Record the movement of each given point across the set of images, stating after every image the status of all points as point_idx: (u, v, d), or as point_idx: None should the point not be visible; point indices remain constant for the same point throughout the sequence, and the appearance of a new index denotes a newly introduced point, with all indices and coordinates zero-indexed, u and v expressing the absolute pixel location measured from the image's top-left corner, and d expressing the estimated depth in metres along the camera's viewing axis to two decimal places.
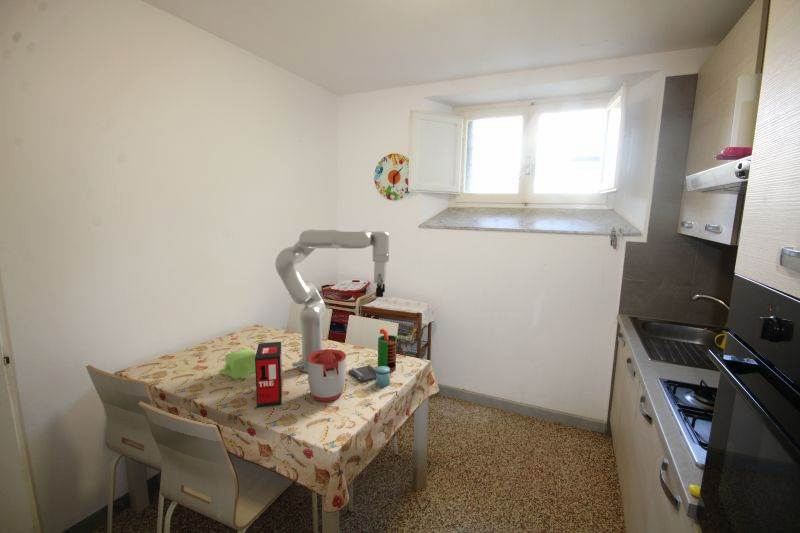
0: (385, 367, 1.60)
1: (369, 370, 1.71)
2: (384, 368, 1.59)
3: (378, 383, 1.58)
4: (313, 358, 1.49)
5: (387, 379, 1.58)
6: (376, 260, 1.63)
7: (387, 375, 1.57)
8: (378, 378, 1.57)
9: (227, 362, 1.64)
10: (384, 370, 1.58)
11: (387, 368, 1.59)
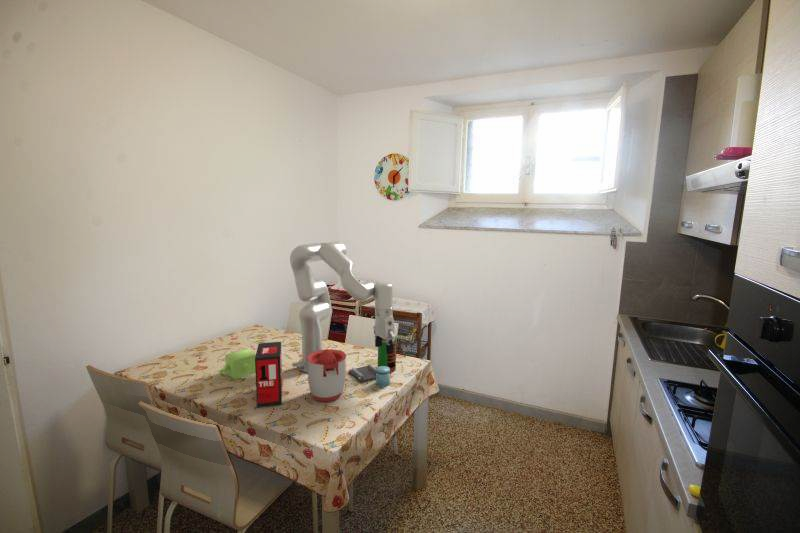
0: (385, 367, 1.60)
1: (369, 370, 1.71)
2: (384, 368, 1.59)
3: (378, 383, 1.58)
4: (313, 358, 1.49)
5: (387, 379, 1.58)
6: None
7: (387, 375, 1.57)
8: (378, 378, 1.57)
9: (227, 362, 1.64)
10: (384, 370, 1.58)
11: (387, 368, 1.59)
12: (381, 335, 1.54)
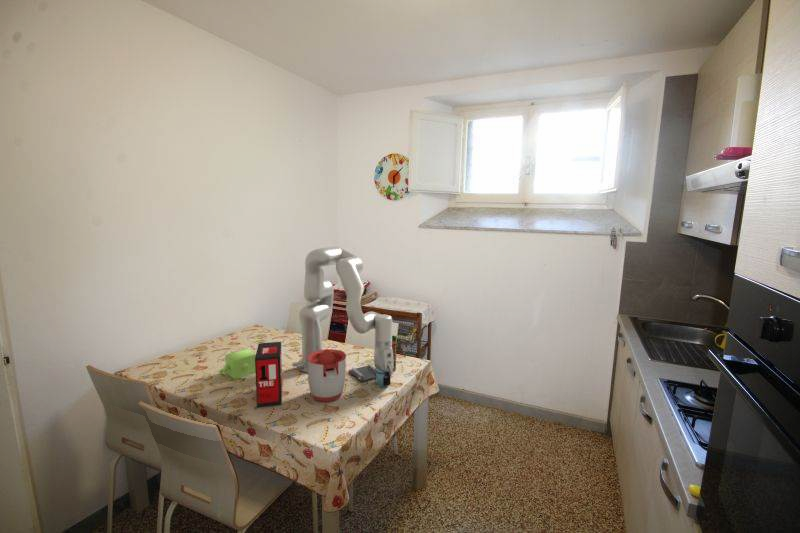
0: None
1: (369, 370, 1.71)
2: None
3: (378, 383, 1.58)
4: (313, 358, 1.49)
5: None
6: None
7: None
8: (378, 378, 1.57)
9: (227, 362, 1.65)
10: None
11: (387, 368, 1.59)
12: (380, 366, 1.56)
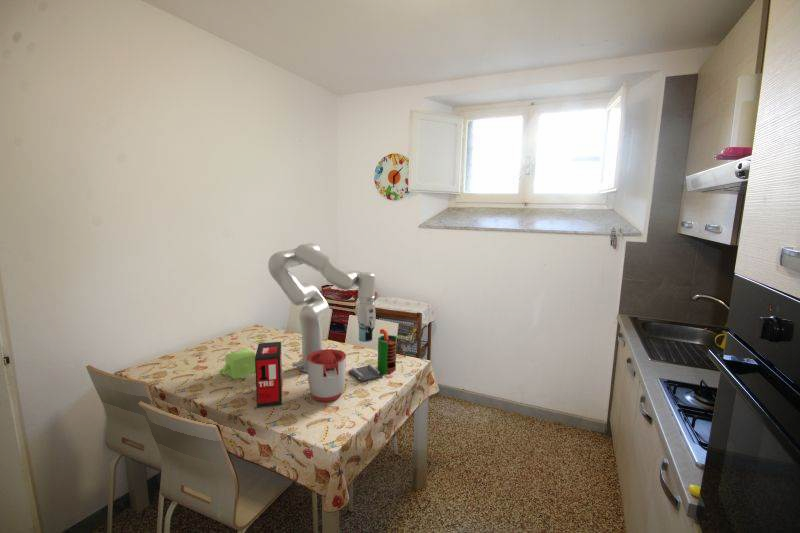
0: (368, 324, 1.66)
1: (369, 370, 1.71)
2: None
3: (360, 338, 1.63)
4: (313, 358, 1.49)
5: None
6: None
7: None
8: (361, 333, 1.63)
9: (227, 362, 1.65)
10: None
11: None
12: (363, 322, 1.62)
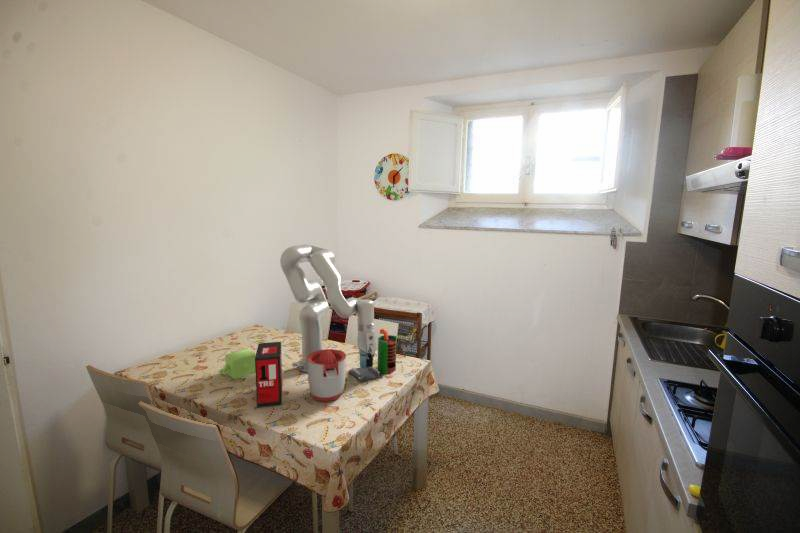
0: None
1: (369, 370, 1.71)
2: None
3: (361, 365, 1.65)
4: (313, 358, 1.49)
5: None
6: None
7: None
8: (361, 360, 1.65)
9: (227, 362, 1.65)
10: None
11: None
12: (363, 349, 1.64)
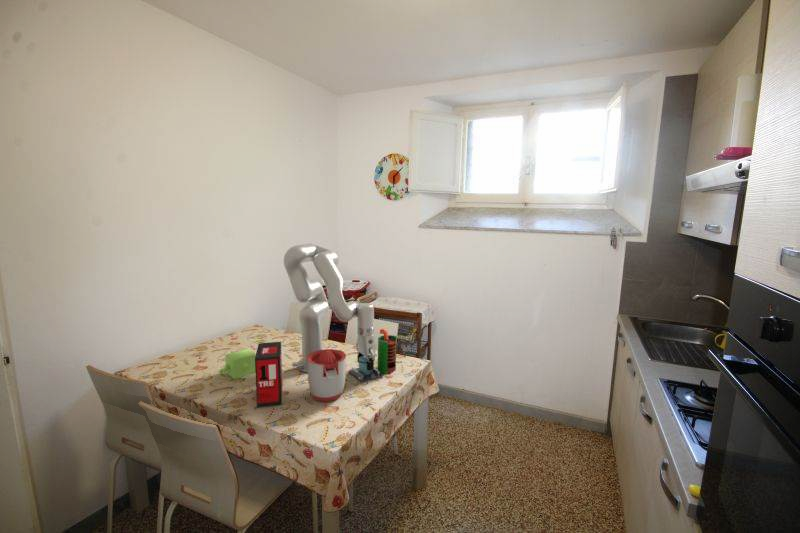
0: None
1: None
2: (366, 358, 1.68)
3: (360, 372, 1.66)
4: (313, 358, 1.49)
5: None
6: None
7: None
8: (360, 367, 1.66)
9: (227, 362, 1.65)
10: (366, 359, 1.66)
11: (369, 357, 1.68)
12: (362, 352, 1.65)
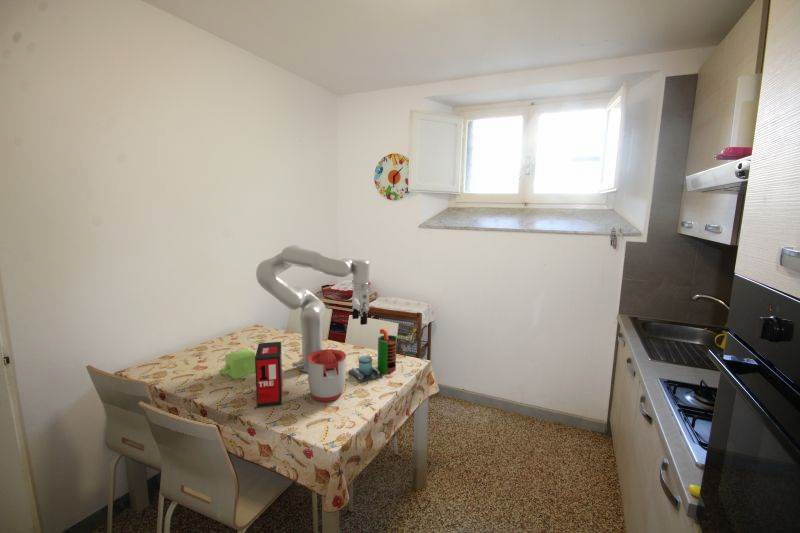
0: (367, 357, 1.69)
1: None
2: (366, 358, 1.68)
3: (360, 372, 1.66)
4: (313, 358, 1.49)
5: (369, 368, 1.66)
6: None
7: (369, 364, 1.66)
8: (360, 367, 1.66)
9: (227, 362, 1.65)
10: (366, 359, 1.66)
11: (369, 357, 1.68)
12: (357, 307, 1.68)
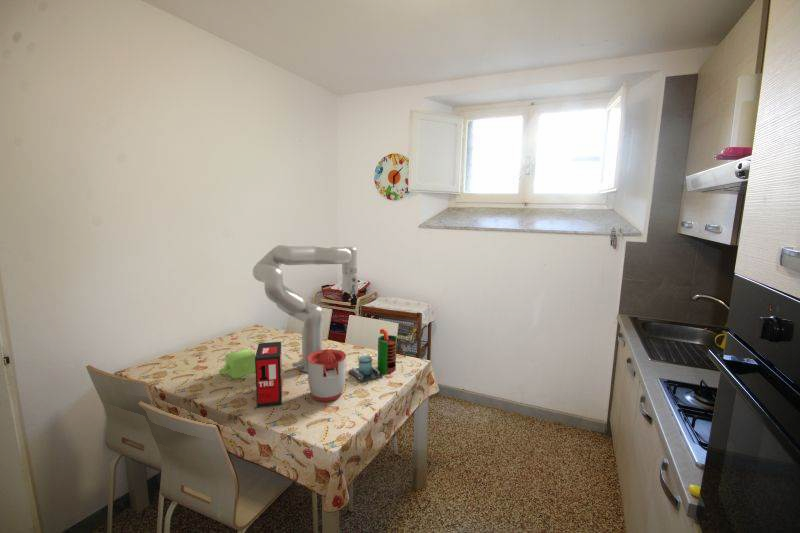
0: (367, 357, 1.69)
1: None
2: (366, 358, 1.68)
3: (360, 372, 1.66)
4: (313, 358, 1.49)
5: (369, 368, 1.66)
6: None
7: (369, 364, 1.66)
8: (360, 367, 1.66)
9: (227, 362, 1.65)
10: (366, 359, 1.66)
11: (369, 357, 1.68)
12: (347, 290, 1.84)
